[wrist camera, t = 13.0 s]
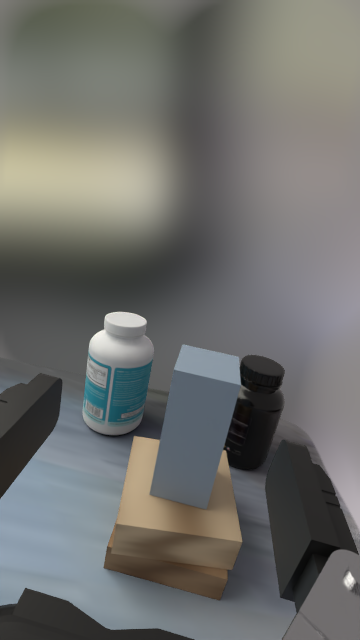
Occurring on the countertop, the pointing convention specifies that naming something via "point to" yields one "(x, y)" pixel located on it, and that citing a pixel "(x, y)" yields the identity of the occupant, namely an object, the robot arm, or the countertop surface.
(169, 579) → the tower base
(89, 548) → the countertop surface
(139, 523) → the tower top
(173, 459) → the pillar
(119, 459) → the countertop surface
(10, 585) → the countertop surface
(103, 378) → the pill bottle
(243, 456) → the supplement bottle
